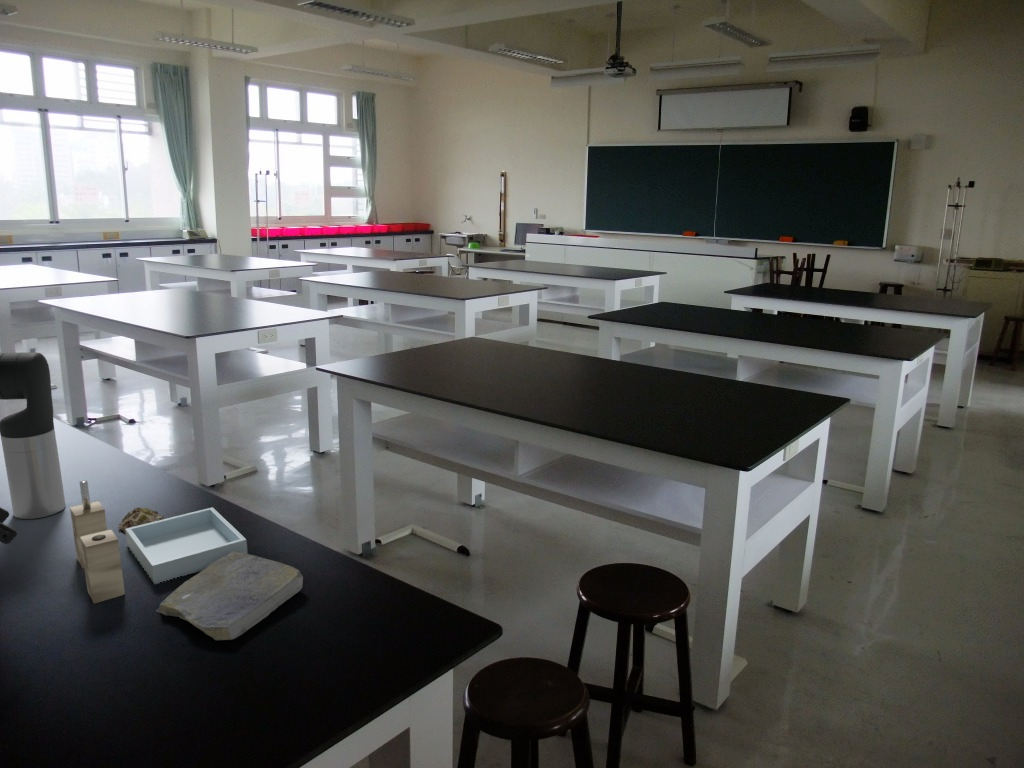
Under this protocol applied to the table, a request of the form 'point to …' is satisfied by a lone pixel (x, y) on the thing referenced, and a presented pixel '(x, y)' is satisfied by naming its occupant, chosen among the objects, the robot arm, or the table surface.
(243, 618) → the fossil
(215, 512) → the tray
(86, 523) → the block
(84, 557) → the block
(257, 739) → the table surface
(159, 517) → the mineral rock
